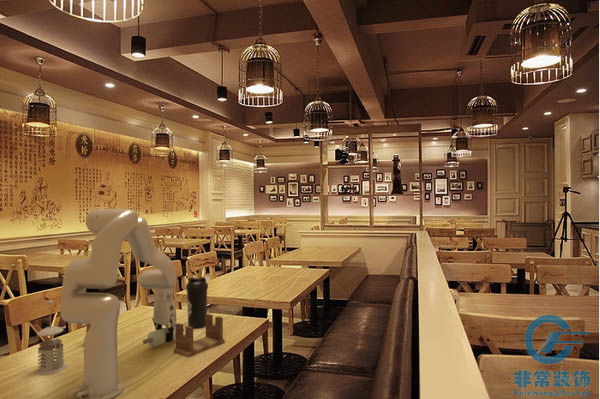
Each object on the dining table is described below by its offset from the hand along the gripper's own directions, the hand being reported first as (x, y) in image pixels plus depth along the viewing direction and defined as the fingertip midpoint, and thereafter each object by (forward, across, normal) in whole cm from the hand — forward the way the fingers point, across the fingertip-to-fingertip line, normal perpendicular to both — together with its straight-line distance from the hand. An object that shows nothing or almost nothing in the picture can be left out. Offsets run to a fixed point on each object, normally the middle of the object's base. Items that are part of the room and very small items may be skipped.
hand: (164, 339), depth 172 cm
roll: (-2, 0, 0) cm, 2 cm away
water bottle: (+2, +8, -24) cm, 26 cm away
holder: (+2, -15, -6) cm, 16 cm away
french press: (+3, +12, +39) cm, 41 cm away
